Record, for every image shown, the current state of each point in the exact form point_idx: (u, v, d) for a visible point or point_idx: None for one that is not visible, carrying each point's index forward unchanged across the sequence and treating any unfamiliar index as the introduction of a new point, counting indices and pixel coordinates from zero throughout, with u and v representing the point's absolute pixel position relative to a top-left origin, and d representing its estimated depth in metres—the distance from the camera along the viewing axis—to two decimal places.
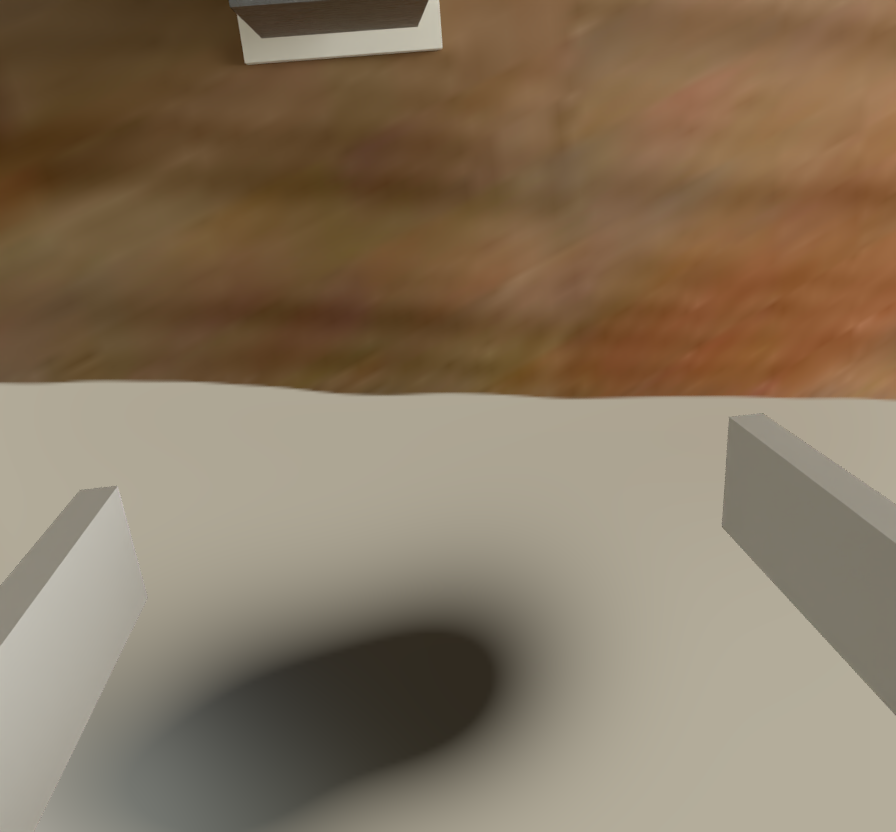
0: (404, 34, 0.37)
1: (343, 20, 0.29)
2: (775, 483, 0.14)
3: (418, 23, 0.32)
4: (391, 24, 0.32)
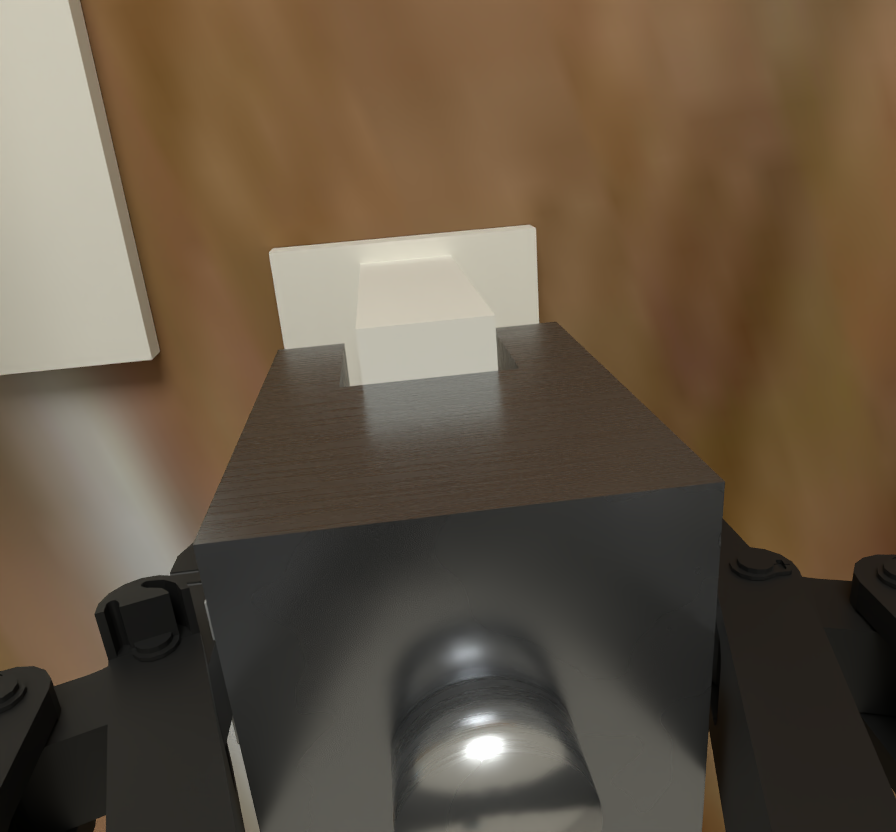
0: (511, 300, 0.20)
1: None
2: None
3: (568, 334, 0.15)
4: None
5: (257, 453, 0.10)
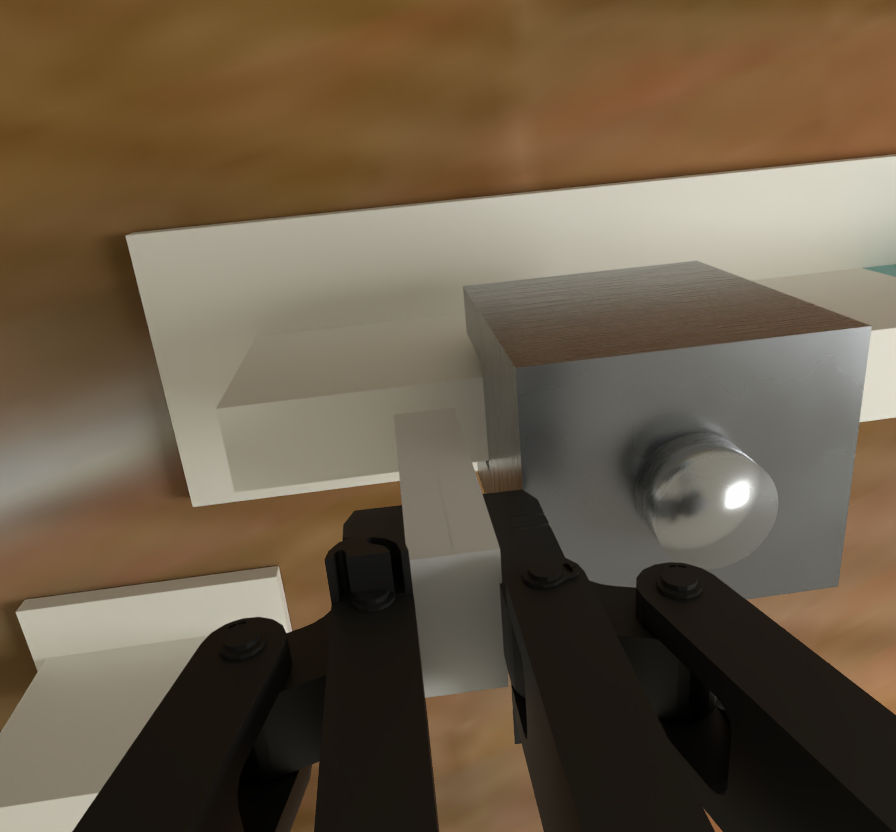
0: None
1: None
2: None
3: None
4: None
5: None
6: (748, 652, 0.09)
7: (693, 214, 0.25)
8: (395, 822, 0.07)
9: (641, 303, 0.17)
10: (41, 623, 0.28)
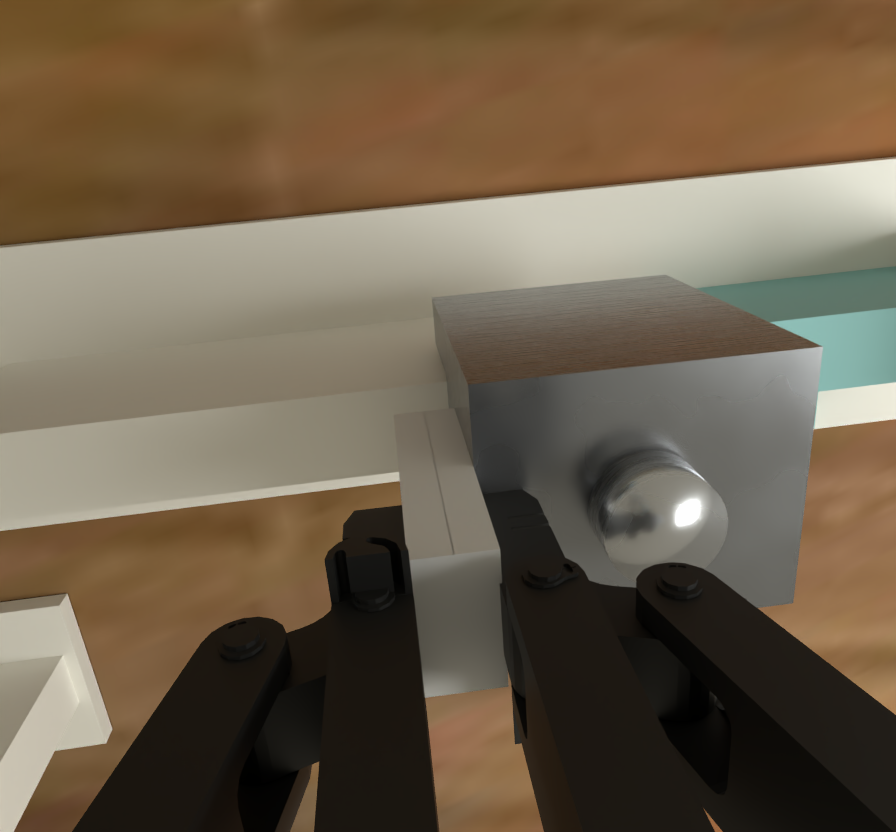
0: None
1: None
2: None
3: None
4: None
5: None
6: (748, 652, 0.09)
7: (456, 240, 0.25)
8: (396, 822, 0.07)
9: (603, 318, 0.17)
10: None
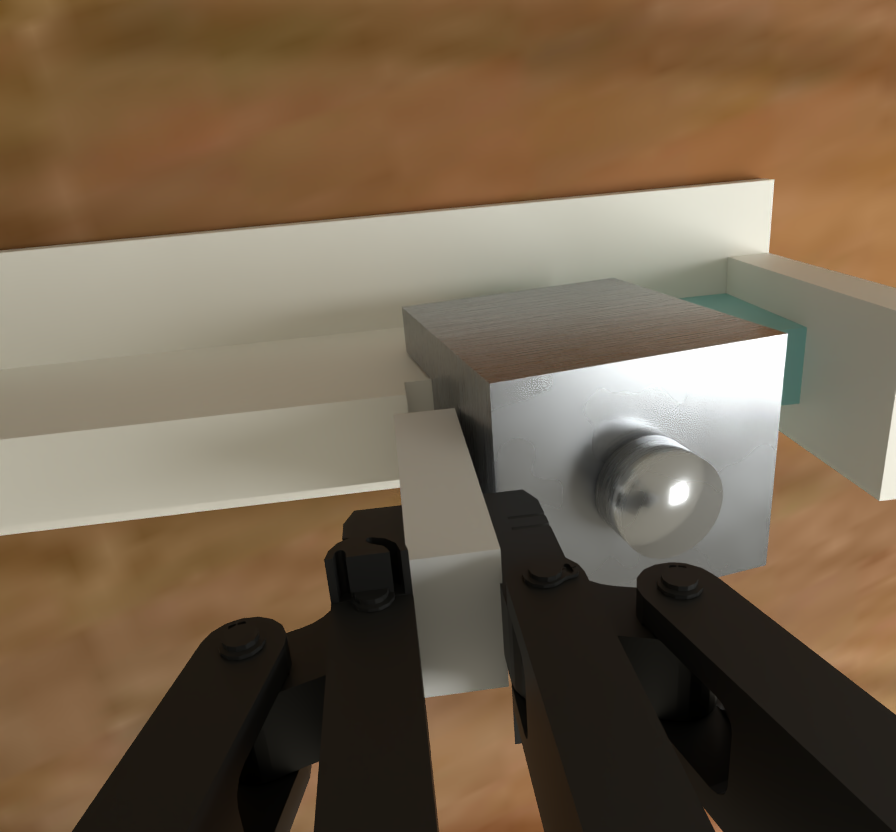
0: None
1: None
2: None
3: None
4: None
5: None
6: (748, 652, 0.09)
7: (255, 267, 0.24)
8: (395, 823, 0.07)
9: (580, 318, 0.19)
10: None
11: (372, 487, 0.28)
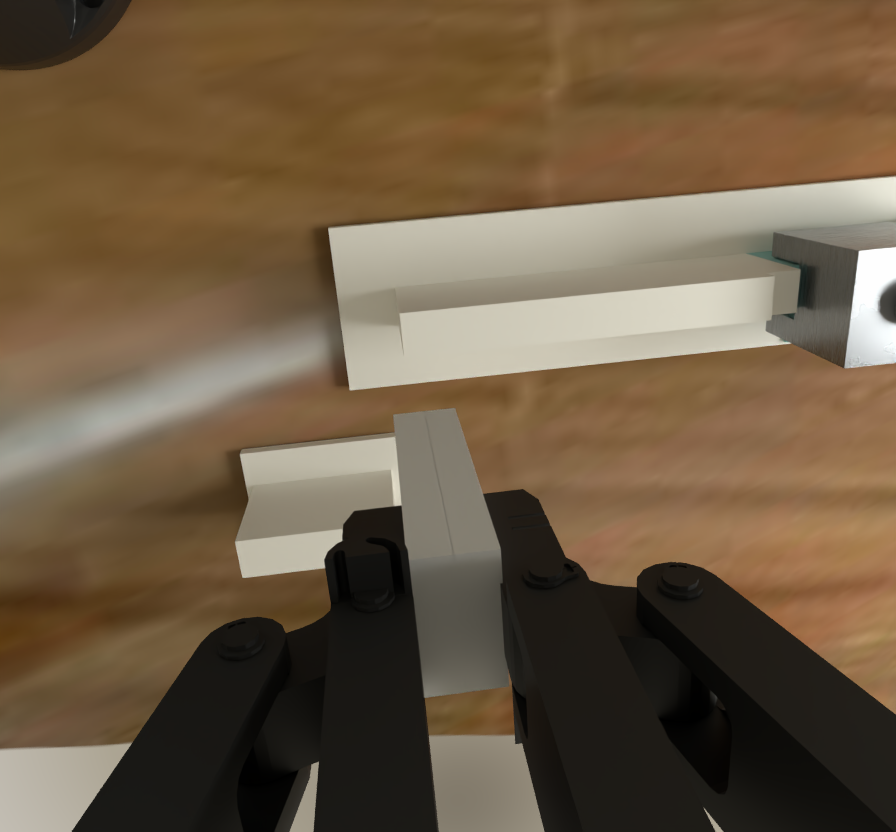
0: None
1: None
2: None
3: None
4: None
5: None
6: (749, 652, 0.09)
7: (646, 220, 0.44)
8: (395, 822, 0.07)
9: (882, 234, 0.39)
10: (254, 461, 0.47)
11: (686, 352, 0.47)
